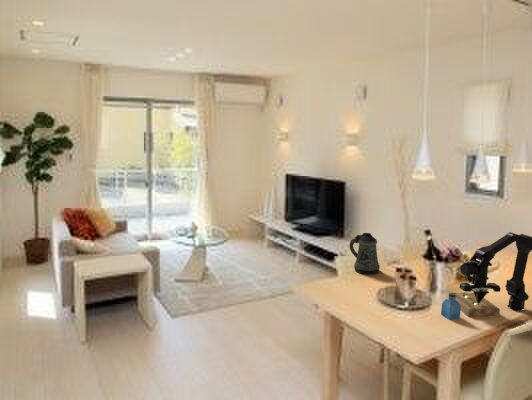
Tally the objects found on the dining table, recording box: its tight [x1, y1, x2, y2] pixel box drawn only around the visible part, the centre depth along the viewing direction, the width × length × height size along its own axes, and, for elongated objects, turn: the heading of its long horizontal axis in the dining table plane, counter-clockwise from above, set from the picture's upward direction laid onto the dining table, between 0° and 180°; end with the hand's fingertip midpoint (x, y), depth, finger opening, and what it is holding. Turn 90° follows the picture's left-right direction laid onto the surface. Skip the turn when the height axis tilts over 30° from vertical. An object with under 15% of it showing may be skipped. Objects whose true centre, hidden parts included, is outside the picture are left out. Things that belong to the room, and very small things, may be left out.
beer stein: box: [348, 232, 381, 276], centre depth 285 cm, size 16×19×25 cm
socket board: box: [447, 292, 501, 318], centre depth 229 cm, size 16×22×4 cm
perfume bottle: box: [440, 292, 462, 320], centre depth 217 cm, size 6×6×12 cm
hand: (478, 303), depth 224 cm, fingers closed
